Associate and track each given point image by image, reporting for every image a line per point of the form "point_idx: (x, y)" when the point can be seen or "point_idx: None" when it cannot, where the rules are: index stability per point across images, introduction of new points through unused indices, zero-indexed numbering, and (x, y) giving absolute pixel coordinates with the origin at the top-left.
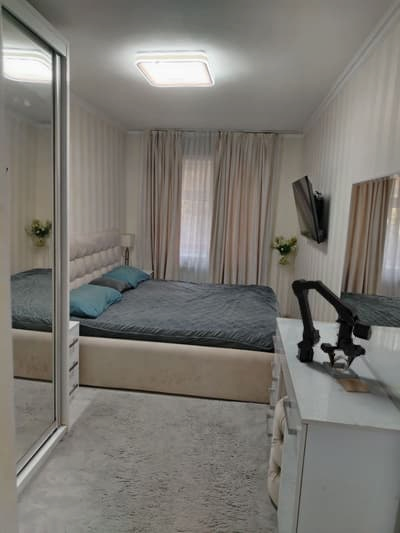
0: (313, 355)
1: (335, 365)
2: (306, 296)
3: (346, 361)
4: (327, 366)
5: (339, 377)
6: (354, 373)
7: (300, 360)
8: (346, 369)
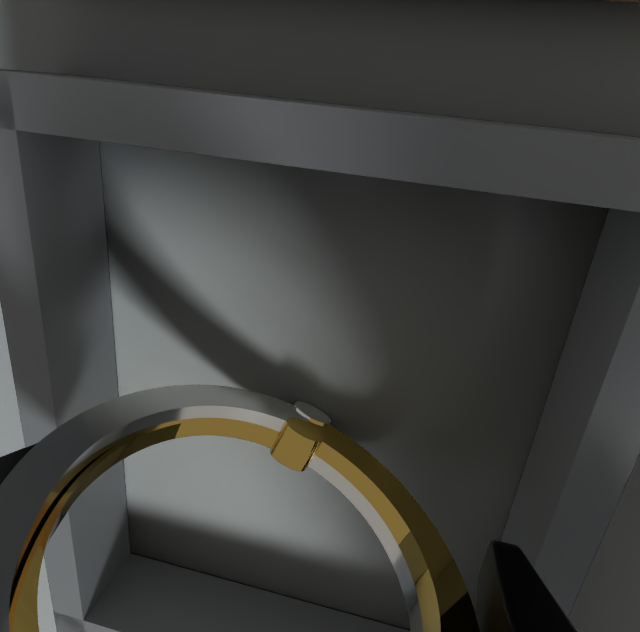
0: None
1: (260, 614)
2: None
3: (18, 601)
4: (571, 600)
5: (520, 125)
6: (30, 177)
7: None
8: (151, 395)
